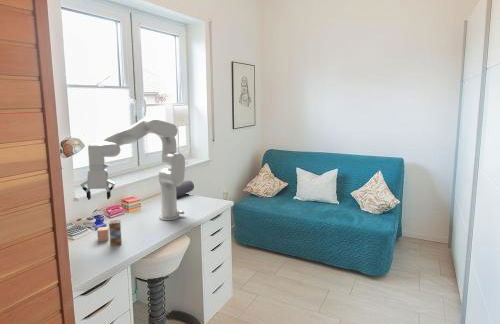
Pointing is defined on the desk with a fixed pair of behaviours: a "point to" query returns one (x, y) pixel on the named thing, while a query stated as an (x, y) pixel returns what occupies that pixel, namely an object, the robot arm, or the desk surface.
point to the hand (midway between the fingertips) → (99, 198)
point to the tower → (115, 232)
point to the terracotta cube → (103, 233)
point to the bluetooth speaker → (184, 188)
